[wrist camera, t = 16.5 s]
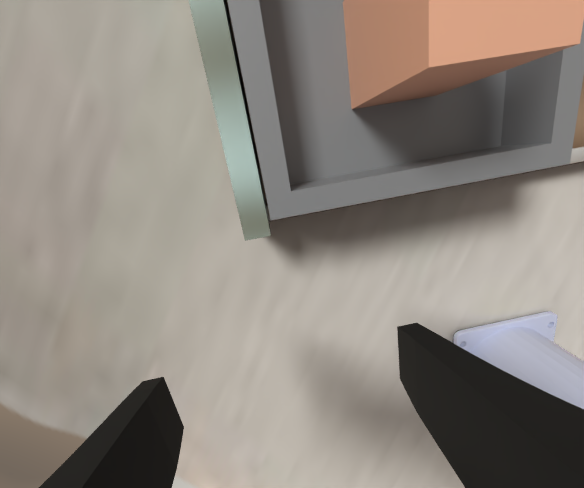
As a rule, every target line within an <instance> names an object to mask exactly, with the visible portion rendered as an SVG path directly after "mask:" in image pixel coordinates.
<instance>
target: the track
mask: <svg viewBox="0 0 584 488" xmlns="http://www.w3.org/2000/svg"><path fill="white" fill-rule="evenodd" d="M189 4H190V8H191V13H192V17H193V21H194V25H195V30H196V34H197V38H198V42H199V47H200V51H201V55H202V60H203V64H204V68H205V72H206V77H207V81H208V85H209V89H210V94H211V98H212V102H213V106H214V111H215V115H216V119H217V123H218V128H219V132H220V136H221V140H222V145H223V149H224V153H225V157H226V162H227V166H228V170H229V174H230V179H231V183H232V187H233V191H234V196H235V200H236V204H237V208H238V213H239V217H240V221H241V225H242V230H243V234H244V238H245V241H246V240H251V239H257V238H262V237H267V236H271V233H270V224H269V221H274V220H271V219H270V214H269V208H268V203H267V198H266V193H265V188H264V183H263V178H262V173H261V168H260V163H259V158H258V153H257V148H256V143H255V138H254V133H253V128H252V123H251V118H250V113H249V107H248V102H247V97H246V92H245V87H244V82H243V77H242V72H241V67H240V62H239V57H238V52H237V47H236V42H235V37H234V32H233V27H232V22H231V17H230V12H229V6H228V1H227V0H189ZM580 162H584V76H583V82H582V89H581V95H580V102H579V108H578V115H577V121H576V128H575V134H574V141H573V147H572V154H571V160H570V164H575V163H580ZM567 165H569V164H567ZM561 166H564V165H561ZM556 167H559V166H556ZM551 168H554V167H551ZM545 169H548V168H545ZM540 170H543V169H540ZM535 171H538V170H535ZM530 172H532V171H530ZM524 173H527V172H524ZM519 174H522V173H519ZM514 175H517V174H514ZM508 176H511V175H508ZM503 177H506V176H503ZM498 178H501V177H498ZM493 179H495V178H493ZM487 180H490V179H487ZM482 181H485V180H482ZM477 182H480V181H477ZM471 183H474V182H471ZM466 184H469V183H466ZM461 185H464V184H461ZM456 186H458V185H456ZM450 187H453V186H450ZM445 188H448V187H445ZM440 189H443V188H440ZM434 190H437V189H434ZM429 191H432V190H429ZM424 192H427V191H424ZM419 193H421V192H419ZM413 194H416V193H413ZM408 195H411V194H408ZM403 196H406V195H403ZM397 197H400V196H397ZM392 198H395V197H392ZM387 199H390V198H387ZM382 200H384V199H382ZM376 201H379V200H376ZM371 202H374V201H371ZM366 203H369V202H366ZM360 204H363V203H360ZM355 205H358V204H355ZM350 206H353V205H350ZM345 207H348V206H345ZM339 208H342V207H339ZM334 209H337V208H334ZM329 210H332V209H329ZM323 211H326V210H323ZM318 212H321V211H318ZM313 213H316V212H313ZM308 214H311V213H308ZM302 215H305V214H302ZM297 216H300V215H297ZM292 217H295V216H292ZM286 218H289V217H286ZM281 219H284V218H281ZM276 220H279V219H276Z"/></svg>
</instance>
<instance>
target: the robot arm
mask: <svg viewBox="0 0 584 488" xmlns="http://www.w3.org/2000/svg"><path fill="white" fill-rule="evenodd" d="M556 324H557V315H556V314H555V313H553V312H551V311H547V312H542V313H538V314H533V315H529V316H524V317H519V318H515V319H510V320H506V321H501V322H496V323H492V324H487V325H483V326H478V327H473V328H469V329H464V330H460V331H457V332H456V333H455V334H454V341H453V343H452V342H450V341H448V340H447V339H445V338H443V337H441V336H440V335H438V334H436V333H434V332H432V331H431V330H429V329H427V328H425V327H423V326H422V325H420V324H418V323H413V324H409V325H404V326H399V327H397V328H398V348H399V368H400V379H401V382H402V384H403V386H404V388H405V390H406V392H407V394H408V396H409V398H410V400H411V402H412V404H413V405H414V407H415V409H416V411H417V413H418V415H419V416H420V418H421V419H422V421H423V423H424V424H425V426H426V427H427V429H428V430H429V432H430V434H431V435H432V437H433V438H434V440H435V441H436V443H437V444H438V446H439V448H440V449H441V451H442V452H443V454H444V455H445V457H446V458H447V460H448V462H449V463H450V465H451V466H452V468H453V469H454V471H455V472H456V474H457V475H458V477H459V479H460V480H461V482H462V483H463V485H464V486H465V488H584V361H583V360H581V359H579V358H578V357H576V356H575V355H573V354H571V353H570V352H568V351H567V350H565V349H564V348H562V347H560V346H559V345H557V344H556V343H554V342H553V341H554V335H555V330H556ZM183 429H184V426H183V424H182V421H181V419H180V416H179V414H178V411H177V409H176V407H175V404H174V402H173V399H172V397H171V394H170V392H169V389H168V387H167V384H166V382H165V379H164V377H161V378H156V379H151V380H147V381H143V382H142V383H141V384H140V385H139V386H137V387H136V388H135V389H134V390H133V391H132V392H131V393H130V395H129V396H128V397H127V398H126V399H125V400H124V401H123V402H122V403H121V404H120V405H119V406H118V407H117V408H116V409H115V410H114V411H113V412H112V413H111V414H110V415H109V416H108V418H107V419H106V420H105V421H104V422H103V423H102V424H101V425H100V426H99V427H98V428H97V429H96V430H95V431H94V432H93V433H92V434H91V435H90V436H89V437H88V438H87V440H86V441H85V442H84V443H83V444H82V445H81V446H80V447H79V448H78V449H77V450H76V451H75V452H74V453H73V454H72V455H71V456H70V457H69V458H68V459H67V460H66V461H65V462H64V463H63V464H62V465H61V466H60V467H59V468H58V469H57V470H56V471H55V472H54V473H53V474H52V475H51V476H50V478H48V479H47V480H46V481H45V482H44V483H43V484H42V485H41V486H40V487H39V488H172V484H173V480H174V477H175V473H176V469H177V464H178V459H179V454H180V448H181V442H182V435H183Z"/></svg>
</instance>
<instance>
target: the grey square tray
mask: <svg viewBox="0 0 584 488" xmlns="http://www.w3.org/2000/svg"><path fill="white" fill-rule="evenodd" d="M227 1H228V6H229V12H230V17H231V22H232V27H233V32H234V37H235V42H236V47H237V52H238V57H239V62H240V67H241V72H242V77H243V82H244V87H245V92H246V97H247V102H248V107H249V113H250V118H251V123H252V128H253V133H254V138H255V143H256V148H257V153H258V158H259V163H260V168H261V173H262V178H263V183H264V188H265V193H266V198H267V203H268V208H269V214H270V219H271V220H276V219H281V218H286V217H292V216H297V215H302V214H308V213H313V212H318V211H323V210H329V209H334V208H339V207H345V206H350V205H355V204H360V203H366V202H371V201H376V200H382V199H387V198H392V197H397V196H403V195H408V194H413V193H419V192H424V191H429V190H434V189H440V188H445V187H450V186H456V185H461V184H466V183H471V182H477V181H482V180H487V179H493V178H498V177H503V176H508V175H514V174H519V173H524V172H530V171H535V170H540V169H545V168H551V167H556V166H561V165H567V164H570V160H571V154H572V147H573V141H574V134H575V128H576V121H577V115H578V108H579V102H580V95H581V89H582V82H583V76H584V20H583V27H582V33H581V40H580V44H578V45H575V46H572V47H569V48H566V49H564V50H561V51H558V52H555V53H553V54H550V55H547V56H544V57H541V58H539V59H536V60H533V61H530V62H528V63H525V64H522V65H519V66H516V67H514V68H511V69H508V70H505V71H503V72H500V73H497V74H494V75H491V76H489V77H486V78H483V79H480V80H478V81H475V82H472V83H469V84H466V85H464V86H461V87H458V88H455V89H453V90H450V91H447V92H444V93H441V94H439V95H436V96H430V97H424V98H418V99H412V100H406V101H400V102H394V103H388V104H381V105H375V106H369V107H363V108H357V109H352V108H351V96H350V84H349V72H348V60H347V48H346V35H345V23H344V11H343V1H344V0H227Z"/></svg>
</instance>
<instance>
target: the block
mask: <svg viewBox="0 0 584 488" xmlns="http://www.w3.org/2000/svg"><path fill="white" fill-rule="evenodd" d="M343 11H344V23H345V35H346V48H347V60H348V72H349V84H350V96H351V108H352V109H357V108H363V107H369V106H375V105H381V104H388V103H394V102H400V101H406V100H412V99H418V98H424V97H430V96H436V95H439V94H441V93H444V92H447V91H450V90H453V89H455V88H458V87H461V86H464V85H466V84H469V83H472V82H475V81H478V80H480V79H483V78H486V77H489V76H491V75H494V74H497V73H500V72H503V71H505V70H508V69H511V68H514V67H516V66H519V65H522V64H525V63H528V62H530V61H533V60H536V59H539V58H541V57H544V56H547V55H550V54H553V53H555V52H558V51H561V50H564V49H566V48H569V47H572V46H575V45H578V44H580V40H581V33H582V27H583V20H584V0H344V1H343Z"/></svg>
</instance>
